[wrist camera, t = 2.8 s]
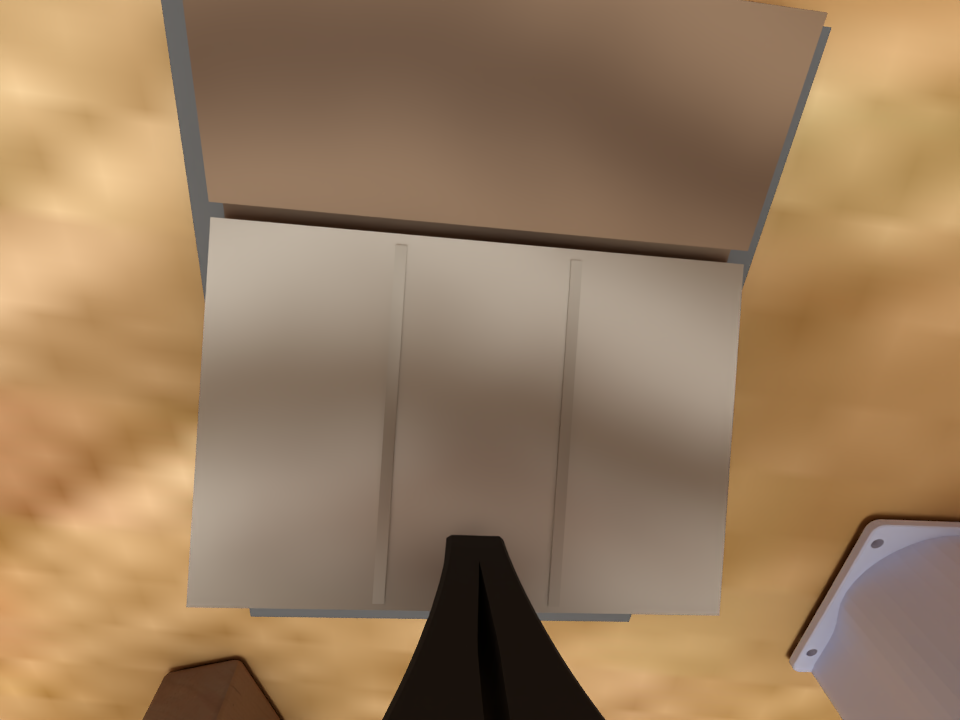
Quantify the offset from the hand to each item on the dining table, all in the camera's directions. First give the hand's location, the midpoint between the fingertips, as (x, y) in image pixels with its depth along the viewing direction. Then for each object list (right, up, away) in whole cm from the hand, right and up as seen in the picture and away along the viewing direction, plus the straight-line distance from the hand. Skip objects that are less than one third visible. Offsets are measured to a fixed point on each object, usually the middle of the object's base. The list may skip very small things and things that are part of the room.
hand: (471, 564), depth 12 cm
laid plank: (+1, +12, +1) cm, 12 cm away
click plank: (0, +3, +2) cm, 4 cm away
